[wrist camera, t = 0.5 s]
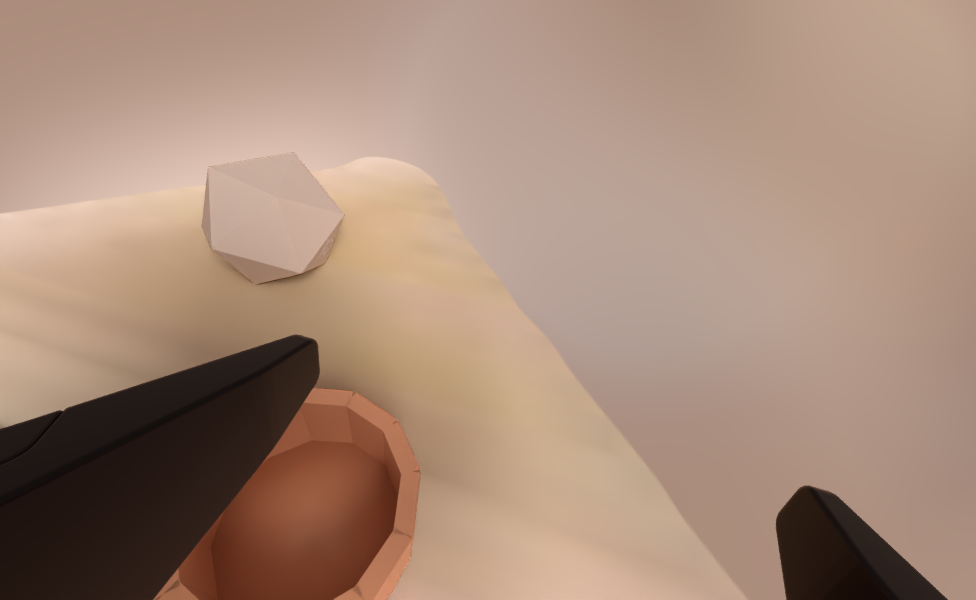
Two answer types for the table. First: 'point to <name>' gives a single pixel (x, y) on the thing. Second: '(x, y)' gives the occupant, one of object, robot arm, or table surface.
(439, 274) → the table surface
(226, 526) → the bowl
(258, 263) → the die
